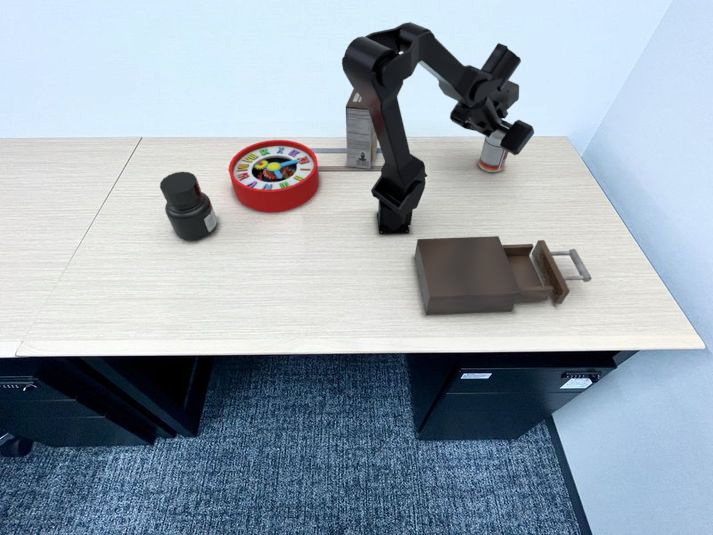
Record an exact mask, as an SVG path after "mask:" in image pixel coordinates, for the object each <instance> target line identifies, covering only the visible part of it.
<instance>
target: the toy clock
mask: <svg viewBox="0 0 713 535" xmlns="http://www.w3.org/2000/svg"><path fill="white" fill-rule="evenodd" d="M318 164H319V163H318V158H317V156H316V154H315V152H314V151H313V150H312V149H311V148H309V147H308V146H307V145H305V144H303V143H300V142H297V141H293V140H288V139H287V140H286V139H272V140H264V141H259V142H256V143H253V144H251V145H247V146H246V147H244V148H243V149H241V150H240V151H238V152H237V153H236V154H235V155H234V156H233V157H232V158H231V160H230V162H229V164H228V173H229V176H230V180H231V181H230V182H231V184H232V187H233V191H234V194H235V195H234V196H235V197H236V199H237V201H238V202H239V203H240V204H241V205H242V206H245V207H246V208H247V209H250V210H252V211H255V212H260V213H271V214H272V213H273V214H274V213H275V214H276V213H277V214H278V213H283V212H288V211H291V210H295V209H297V208H300V207H302V206H303V205H306V204H307V203H308V202H310V201H311V200H312V199H313V198H314V197H315V196H316V194H317V193H318V191H319V187H320V178H319V177H320V175H319V165H318Z"/></svg>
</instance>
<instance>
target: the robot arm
mask: <svg viewBox="0 0 713 535" xmlns="http://www.w3.org/2000/svg"><path fill="white" fill-rule="evenodd" d="M521 63H522V59H521V57H519V56H518V54H516V53H515V52H513V51H512V50H510V49H509V48H508V45H505V44H503V43H501V42H498V43H497V44H496V46H495V47H494V49H493V50H492V51H491V53H490V54H489V56H488V57H487V59H486V60H485V62H484V63H483V65H482V66H481V68H478V67H475V66H473V65H471V64H467V65H464V64H462V62H461V61H460V60H458V58H457V57H455V56H454V54H453V53H451V52H450V51H449V49H447V47H445V46H444V45H443V44H442V43H441V42H440V40H438V38H436V36H435V33H433V32H432V30H431V29H429V28H426V27H424V26H421V25H419V24H417V23H414V22H411V21H408V22H404V23H401V24H399V25H397V26H396V27H393V28H389V29H384V30H378V31H374V32H370V33H368V34H366V35H365V36H357V37H356V38H354V39H353V40H351V42H350V43H349V44H348V45H347V48H346V49H345V52H344V55H343V57H342V59H341V67H342V71H343V73H344V75H345V76H346V78H347V80H348V81H349V83H350V85H351V87H352V88H353V89H355V90H356V91H357V93H358V94H359V95H360V96H361V97H362V99H363V100H364V101H365V102H366V104H367V107H368V110H369V114H370V117H371V120H372V123H373V126H374V129H375V132H376V135H377V139H378V140H377V143H378V144H379V148H380V151H381V154H382V157H383V161H384V163H383V164H382V166H381V168H380V176H379V178H378V179H377V181H376V182H375V183H374V185H373V187H372V188H371V189H370V192H371V194H372V197H373V198H375V199H377V200H378V206H377V212H376V223H377V229H378V231H377V232H378V234H379V235H407V234H410V226H411V225H412V218H413V212H414V210H415V209H417V208H418V206H419V204H420V202H421V199H422V196H423V194H424V192H425V188H426V178H428V174H427V173H426V164H425V162H424V161H423V160H422V159H420V158H418V157H416V155H414V154H412V153H411V151H410V148H409V143H408V137H407V133H406V130H405V125H404V120H403V116H402V111H401V107H400V103H399V99H398V96H399V93H400V91H401V89H402V87H403V85H404V81H405V80H407V79H408V78H410V77H411V76H413V74H414V72H415V70H416V68H417V66H418V65H420V66H421V67H422V68H423V69H424V70H426V71H427V72H428V73H429V74H430V75H431V76H433V77H434V78H435V79H436V80H437V81H438V84H437V85H438V87H439V89H440V90H441V92H442V94H444V95H445V96H447V97H449V98H450V99H452V100H454V101H457V102H456V103H455V105H454V107H453V108H452V110H451V111H450V113H449V120H450V121H451V122H452V123H454V124H455V125H457V126H460V127H461V128H463V129H465V130H469V131H475V132H476V133H479V134H481V135H483V136H485V137H486V136H487V137H488V138H489V137H490V135H491V134H492V133H494V132H495V131H496V130H497V131H499V132H501V133H503V134H505V136H504V137H503V139H502V140H501V143H500V146H501V147H502V149H504V150H506V151H508V154H511V155H513V156H517V155H519V154H520V153H521V152H522V150H523V149H524V148H525V146H526V145H527V144H528V142H529V141H530V139H532V137H533V136H534V135H535V129H534V127H533V125H531V124H529V123H527V122H525V121H523V120H521V119H517V120H515V121H514V122H512V123H513V125H512V124H510V123H508V122H506V121H504V120H502V119H505V120H506V118H507V117H508V115H509V112H508V110H509V109H510V108H511V107H512V106H513V105H514V104H515V103H516V102H518V100H519V99H520V85H519V84H518V83H515V82H514V81H511V80H510V79H511V77H512V76H513V74H514V73H515V72H516V70H517V68H518V67H519V66H520V64H521ZM502 125H503V126H502ZM505 126H506V127H507V128H506V127H505ZM508 128H509V129H508Z"/></svg>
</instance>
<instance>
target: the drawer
mask: <svg viewBox="0 0 713 535" xmlns="http://www.w3.org/2000/svg"><path fill="white" fill-rule="evenodd" d="M502 246H503V249H504V251H505V254H506V256H507V259H508V261H509V264H510V266H511V269H512V271H513V274H514V276H515V279H516V281H517V283H518V286H519V288H520V291H521V295H520V296H519V298H518V300H517V302H537V301H539V302H540V301H548V299H549V297H551V299H552V301H553V303H554V305H562V304H563V302H564V301H565V300H566V298H567V296H568V295H569V293H570V288H569V285H568V284H567V283H566V282H567V281H569V282H570V281H582V282H584V283H588V282H590V281H591V280H592V279H593V278H592V275H591V274H590V272H589V270H588V269H587V267H586V266H585V264H584V262H583V260H582V258H581V256H580V254H579V253H578V250H577V249H575V248H571V249H569V250H560V251H557V250H556V251H550V249H549V246H548V245H547V243H546V241H545V239H539V240H537V242H536V244H535V246H534V245H533V243H520V244H502ZM530 255H532V258H533V260H534V261H535V264H536V266H537V268H538V271H539V272H540V275H541V277H542V279H543V281H544V284H545V285H543V283H542V280H541V278H540V276H539V274H538V271H537V269H536V267H535V265H534V262H533V261H532V259H531V256H530ZM558 256H560V257H562V256H569V258H570V260H571V261H572V263H573V264H574V267H575V269H576V270H577V272H578V274H579V275H564V276H563V274H562V272H561V271H560V269H559V266H558V265H557V263H556V261H555V258H554V257H558Z"/></svg>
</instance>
